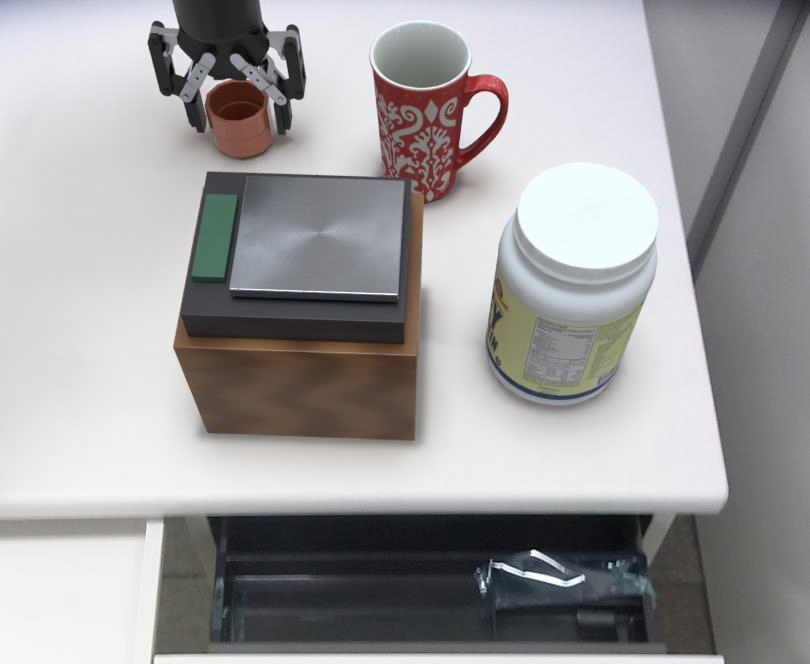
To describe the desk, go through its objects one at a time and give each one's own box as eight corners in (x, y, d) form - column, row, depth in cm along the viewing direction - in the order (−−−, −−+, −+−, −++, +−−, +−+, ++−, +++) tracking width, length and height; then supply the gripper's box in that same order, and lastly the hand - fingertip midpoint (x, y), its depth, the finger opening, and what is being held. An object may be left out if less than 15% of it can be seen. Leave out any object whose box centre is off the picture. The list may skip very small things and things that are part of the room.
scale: (188, 336, 62) (177, 309, 59) (213, 195, 68) (205, 164, 65) (404, 344, 62) (404, 316, 59) (411, 202, 67) (411, 171, 65)
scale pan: (230, 296, 60) (228, 289, 59) (248, 183, 64) (246, 175, 64) (398, 302, 60) (398, 295, 59) (404, 188, 64) (404, 180, 63)
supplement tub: (493, 292, 79) (515, 141, 63) (623, 312, 78) (678, 163, 62) (474, 400, 74) (493, 264, 58) (612, 422, 73) (668, 290, 58)
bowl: (210, 159, 86) (201, 121, 82) (218, 117, 88) (209, 78, 84) (270, 161, 86) (264, 124, 82) (277, 119, 88) (271, 80, 84)
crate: (207, 433, 72) (172, 347, 61) (230, 287, 79) (202, 186, 68) (414, 440, 72) (417, 356, 61) (421, 294, 79) (424, 193, 68)
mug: (364, 203, 83) (358, 79, 71) (384, 139, 87) (382, 11, 75) (488, 224, 82) (504, 103, 70) (504, 159, 86) (522, 32, 74)
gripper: (296, -61, 72) (314, 105, 87) (132, -66, 73) (178, 101, 88) (288, -5, 69) (308, 157, 84) (117, -10, 70) (167, 153, 84)
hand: (242, 128), depth 86 cm, fingers open, 8 cm apart
